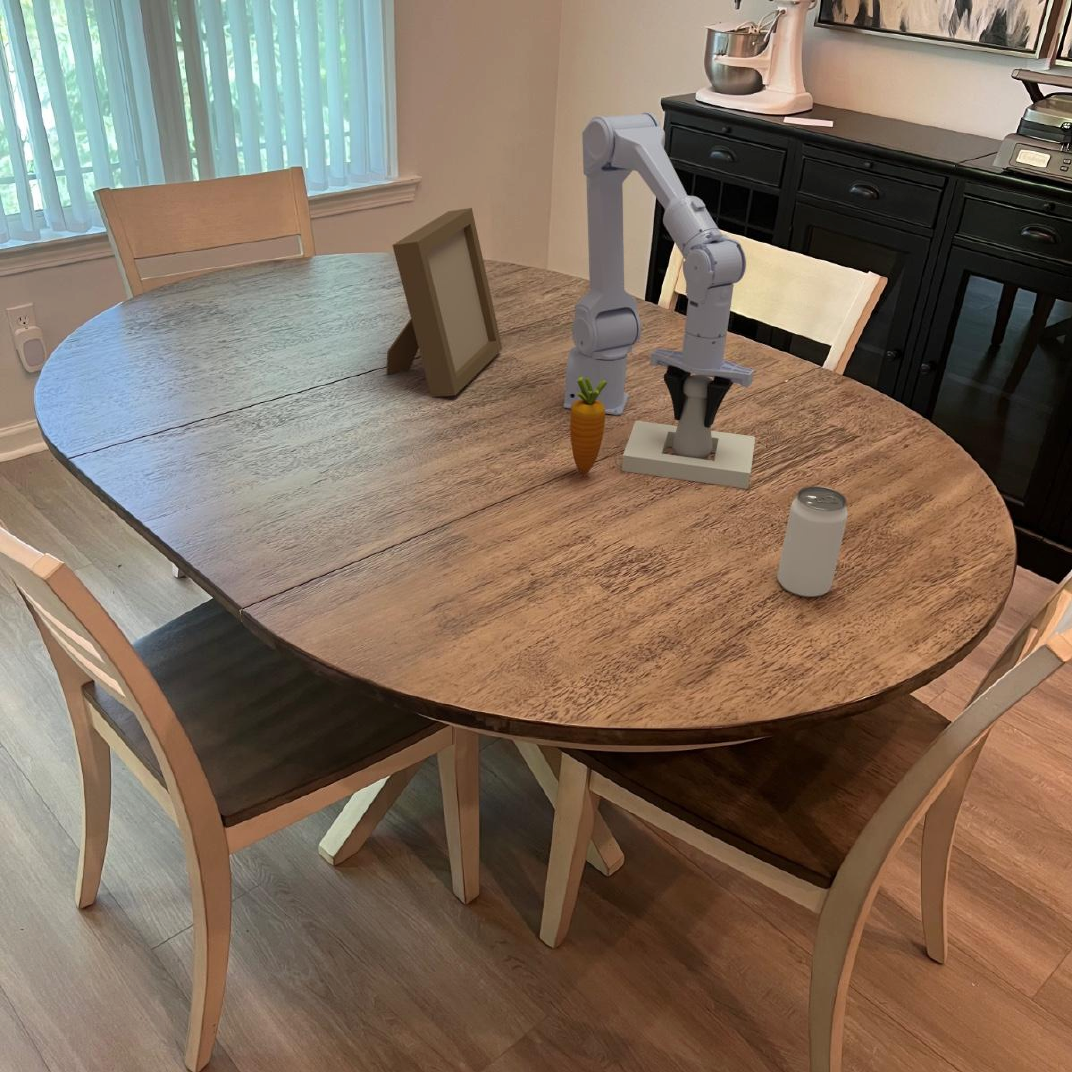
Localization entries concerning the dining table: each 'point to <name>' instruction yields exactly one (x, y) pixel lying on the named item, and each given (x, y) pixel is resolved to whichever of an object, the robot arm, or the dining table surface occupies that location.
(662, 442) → the socket block
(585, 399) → the carrot
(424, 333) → the photo frame
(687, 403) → the salt shaker
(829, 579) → the can
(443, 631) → the dining table surface
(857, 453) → the dining table surface
